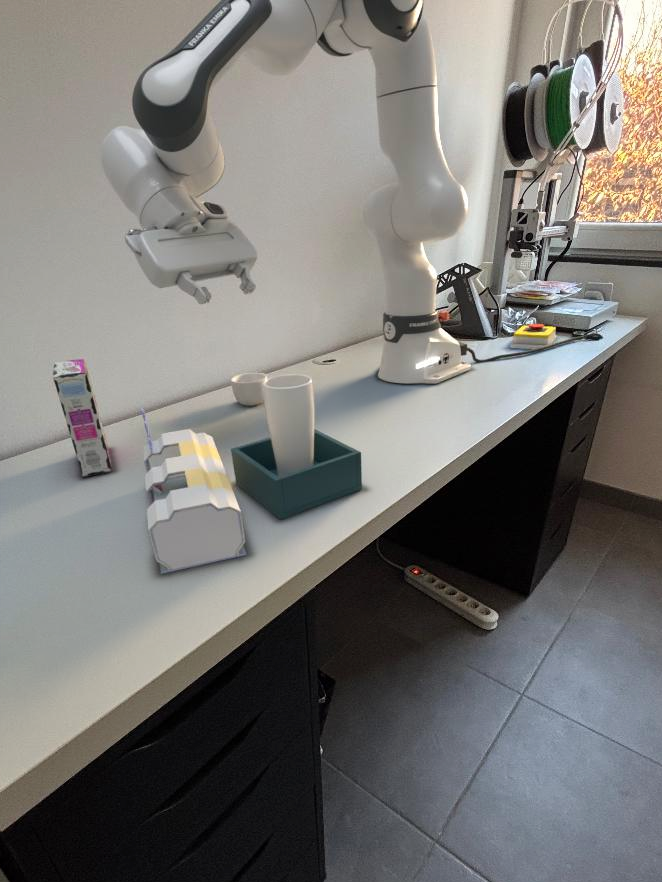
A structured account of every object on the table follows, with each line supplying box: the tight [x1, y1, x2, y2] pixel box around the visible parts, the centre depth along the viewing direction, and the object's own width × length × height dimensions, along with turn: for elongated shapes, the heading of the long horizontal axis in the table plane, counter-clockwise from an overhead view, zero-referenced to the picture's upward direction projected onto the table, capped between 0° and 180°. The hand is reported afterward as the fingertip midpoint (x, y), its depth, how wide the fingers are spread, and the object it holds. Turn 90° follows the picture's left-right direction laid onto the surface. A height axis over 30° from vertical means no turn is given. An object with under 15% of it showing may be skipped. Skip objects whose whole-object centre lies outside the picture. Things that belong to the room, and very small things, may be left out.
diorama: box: [140, 407, 247, 575], centre depth 69 cm, size 25×10×13 cm, turn 18°
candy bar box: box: [52, 358, 113, 478], centre depth 86 cm, size 11×5×16 cm, turn 23°
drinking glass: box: [263, 373, 316, 477], centre depth 74 cm, size 7×7×15 cm
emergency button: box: [509, 323, 557, 350], centre depth 144 cm, size 9×4×15 cm
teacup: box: [230, 372, 269, 407], centre depth 113 cm, size 10×8×5 cm
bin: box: [230, 428, 363, 521], centre depth 77 cm, size 14×14×6 cm
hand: (229, 295), depth 81 cm, fingers open, 8 cm apart
